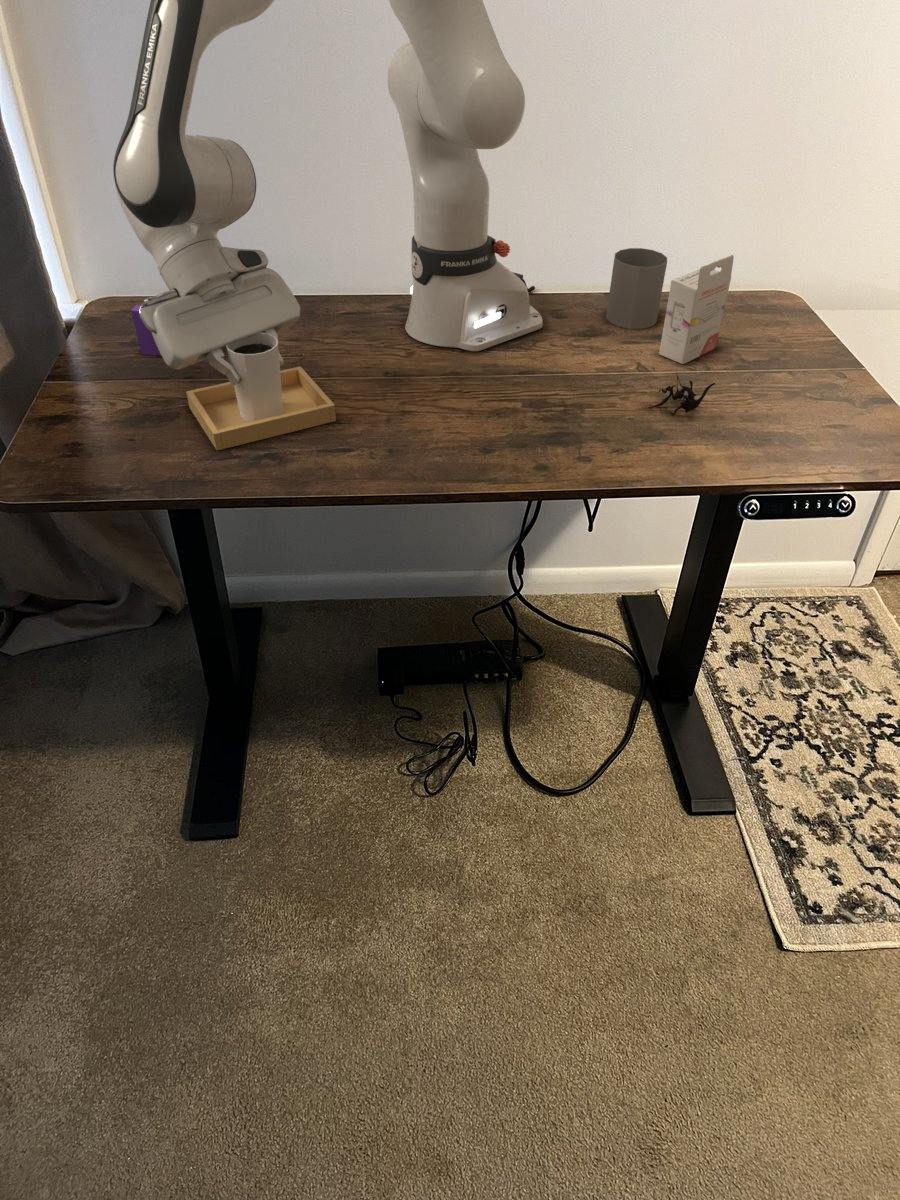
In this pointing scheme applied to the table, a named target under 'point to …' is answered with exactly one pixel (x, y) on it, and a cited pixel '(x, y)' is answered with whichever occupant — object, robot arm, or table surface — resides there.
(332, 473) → the table surface
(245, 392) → the white tumbler
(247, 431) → the tray
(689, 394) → the creature
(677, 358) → the ink cartridge box
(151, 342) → the bracket
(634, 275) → the cup
